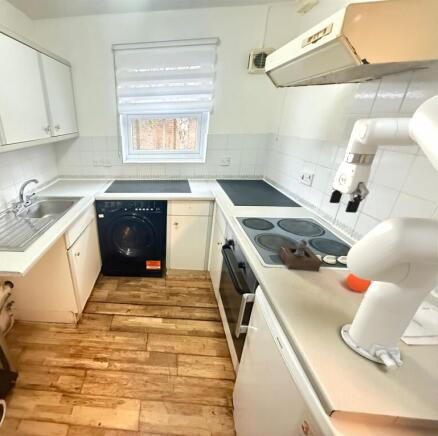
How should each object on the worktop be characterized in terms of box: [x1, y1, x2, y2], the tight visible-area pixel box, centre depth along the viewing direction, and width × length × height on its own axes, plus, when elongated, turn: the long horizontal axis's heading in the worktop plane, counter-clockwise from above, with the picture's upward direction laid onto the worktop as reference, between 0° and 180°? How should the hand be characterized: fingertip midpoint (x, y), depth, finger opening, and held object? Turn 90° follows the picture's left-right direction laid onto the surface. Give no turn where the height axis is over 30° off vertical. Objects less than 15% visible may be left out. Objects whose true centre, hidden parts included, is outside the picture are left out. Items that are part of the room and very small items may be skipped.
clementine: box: [345, 273, 372, 292], centre depth 89 cm, size 8×7×7 cm
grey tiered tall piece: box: [293, 238, 308, 257], centre depth 104 cm, size 6×6×12 cm
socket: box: [278, 245, 323, 272], centre depth 106 cm, size 12×12×5 cm
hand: (341, 207), depth 85 cm, fingers open, 9 cm apart
